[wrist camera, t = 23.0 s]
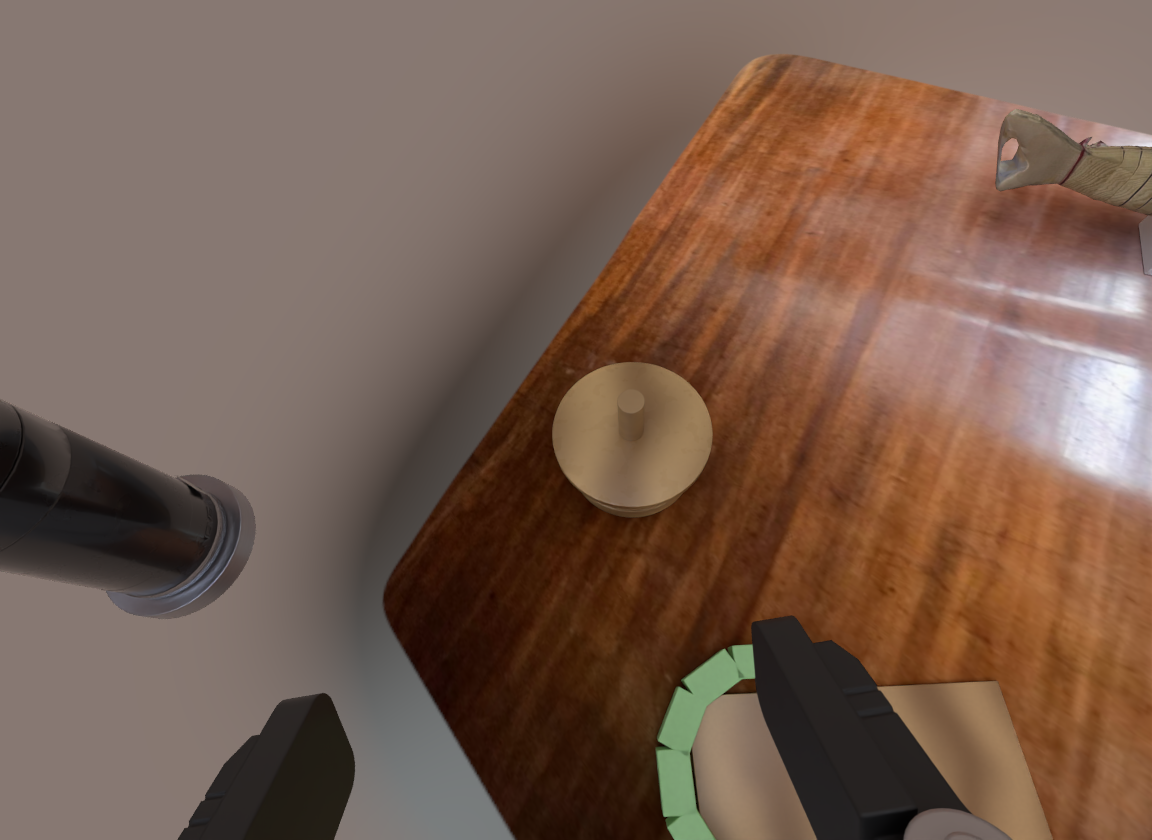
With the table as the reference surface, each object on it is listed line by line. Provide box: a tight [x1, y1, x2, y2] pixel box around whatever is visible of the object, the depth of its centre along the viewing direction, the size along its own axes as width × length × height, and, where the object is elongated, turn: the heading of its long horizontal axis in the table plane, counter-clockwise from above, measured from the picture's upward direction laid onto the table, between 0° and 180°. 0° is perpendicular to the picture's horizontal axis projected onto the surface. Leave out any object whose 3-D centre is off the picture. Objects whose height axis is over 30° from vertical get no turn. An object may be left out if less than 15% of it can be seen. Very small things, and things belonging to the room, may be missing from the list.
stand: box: [552, 362, 713, 517], centre depth 40 cm, size 12×12×10 cm
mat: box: [691, 681, 1053, 840], centre depth 33 cm, size 20×15×1 cm
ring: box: [655, 644, 755, 840], centre depth 33 cm, size 15×15×2 cm
